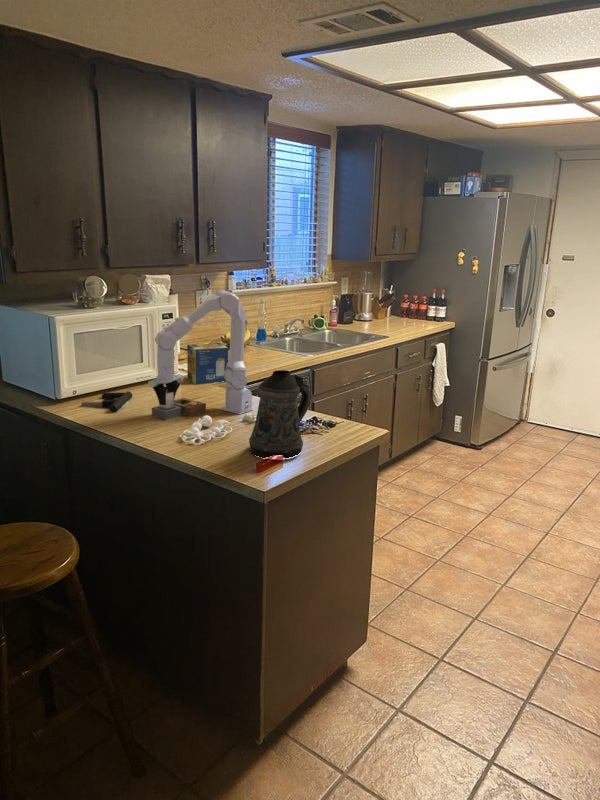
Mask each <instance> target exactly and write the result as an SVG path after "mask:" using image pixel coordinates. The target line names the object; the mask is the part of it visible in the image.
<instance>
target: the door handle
mask: <svg viewBox="0 0 600 800" xmlns="http://www.w3.org/2000/svg"><path fill="white" fill-rule="evenodd" d="M103 398H104V399H103ZM133 398H134V397H133V393H132V392H131V391H130V390H129V391H126V392H104V393H102V394H101V399H102V401H82V402H81V403H80V405H81V407H82V406H95V407H94V408H102V409H109V411H110V412H111V413H117V412H118V411H119V410H120V409H123V408H124V407H125V406H126V405H128V404H129V400H131V399H133Z"/></svg>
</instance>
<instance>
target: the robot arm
mask: <svg viewBox="0 0 600 800" xmlns="http://www.w3.org/2000/svg"><path fill="white" fill-rule="evenodd" d="M222 310H223V311H225V313H226V314H227V315H228V316H230V335H229V338H230V339H229V350H228V362H227V367H226V370H225V371H224V378H225V380H226V381H227V382H225V383H226V384H225V402H224V403H225V406H223V407H220V409H219V410H221V411H226V412H229V413H234V414H237V415H241V414H245V413H247V412H251V411H253V410H254V409H253V408H252V405H253V400H252V399H253V394H252V391H251V389H248V388H247V387H246V385H247V384H248V375H247V373H246V372H247V371H246V370H247V369H246V365H245V362H244V355H245V353H244V352H245V341H246V340H245V338H246V322H247V321H246V320H247V319H246V318H247V313H246V310H245V308H244V306H243V304H242V302H241V298H239V296H237V295H236V294H235V293H234V292H230V291H227V290H225V289H218V290H217V291H215V292H214V293H212V294H210V295H209V296H208V297H207V299H205V300H204V301H203V302H202V303H200V304H199V305H198V306H197V307H196V308H195V309H194V310H193V311H191V312H190V313H189V314H188V315H187V316H180V317H178V316H177V317H176V318H175V319H174V320H175V321H174V322H172V323H171V324H170V325H168V326H165V327H164V330H159V332H157V334H156V336H155V338H154V342H155V343H156V345H157V346H156V348H157V349H156V350H157V353H156V359H157V360H156V361H157V362H156V363H157V364H156V365H157V376H156V378H154V379H152V380H151V379H150V380H149V381H148V383H147V385H148V388H152V389H153V391H154V392H155V395H156V398H157V400H158V405H159V404H160V405H165V396H166V391H171V392H174V399H175V397H176V394H177V392H178V390H179V388H180V386H181V383H180V382H179V381H183V380H184V375H183V374H180V373H179V374H175V349H174V348H175V346H176V344H177V342H178V341H180V340H181V339H182V338H183V337H184V336H186V335H187V334H188V333H190V332H191V331H192V330H193V325H194V324H195V323H197V322H198V321H200V320H201V319H202V318H204V317H205V316H206V315H208V314H209V313H210V312H214V311H215V312H218V311H222Z"/></svg>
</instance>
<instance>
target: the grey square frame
mask: <svg viewBox="0 0 600 800" xmlns="http://www.w3.org/2000/svg"><path fill="white" fill-rule="evenodd" d="M151 416H152V417H153V418H158V419H160V420H161V419H162V420H164V421H168V420H171V418H172V419H173V418H174V417H175V418H178V417H181V416H182V414H181V407H178V406H174V408H173V409H170V410H163V409H160V408H159V405H156V406H153V407H151ZM175 418H174V419H175Z"/></svg>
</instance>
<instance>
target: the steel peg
mask: <svg viewBox="0 0 600 800" xmlns="http://www.w3.org/2000/svg"><path fill="white" fill-rule="evenodd" d="M174 400H175V398H174V392H171V391H166V396H165V405H160V404H159V403H158V406H159V408H160V409H163V410H170V409H173V408H174Z"/></svg>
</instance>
